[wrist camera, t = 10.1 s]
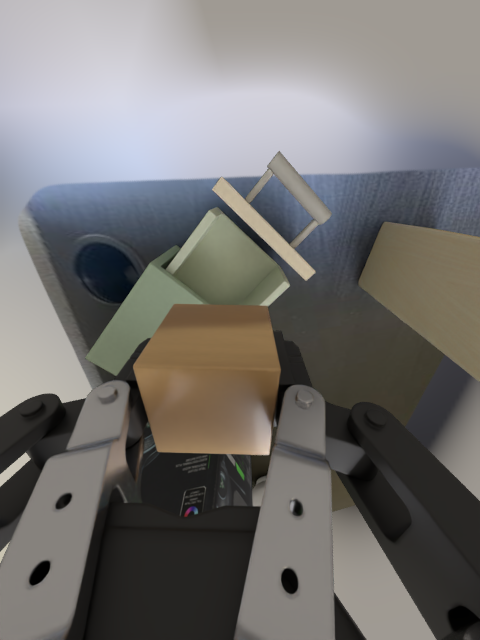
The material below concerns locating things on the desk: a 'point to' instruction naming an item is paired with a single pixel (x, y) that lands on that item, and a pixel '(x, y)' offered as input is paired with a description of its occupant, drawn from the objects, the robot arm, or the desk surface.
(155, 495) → the headset box
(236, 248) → the drawer
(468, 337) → the toy refrigerator
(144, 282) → the cabinet
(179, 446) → the block
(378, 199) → the desk surface
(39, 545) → the robot arm
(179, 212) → the desk surface
